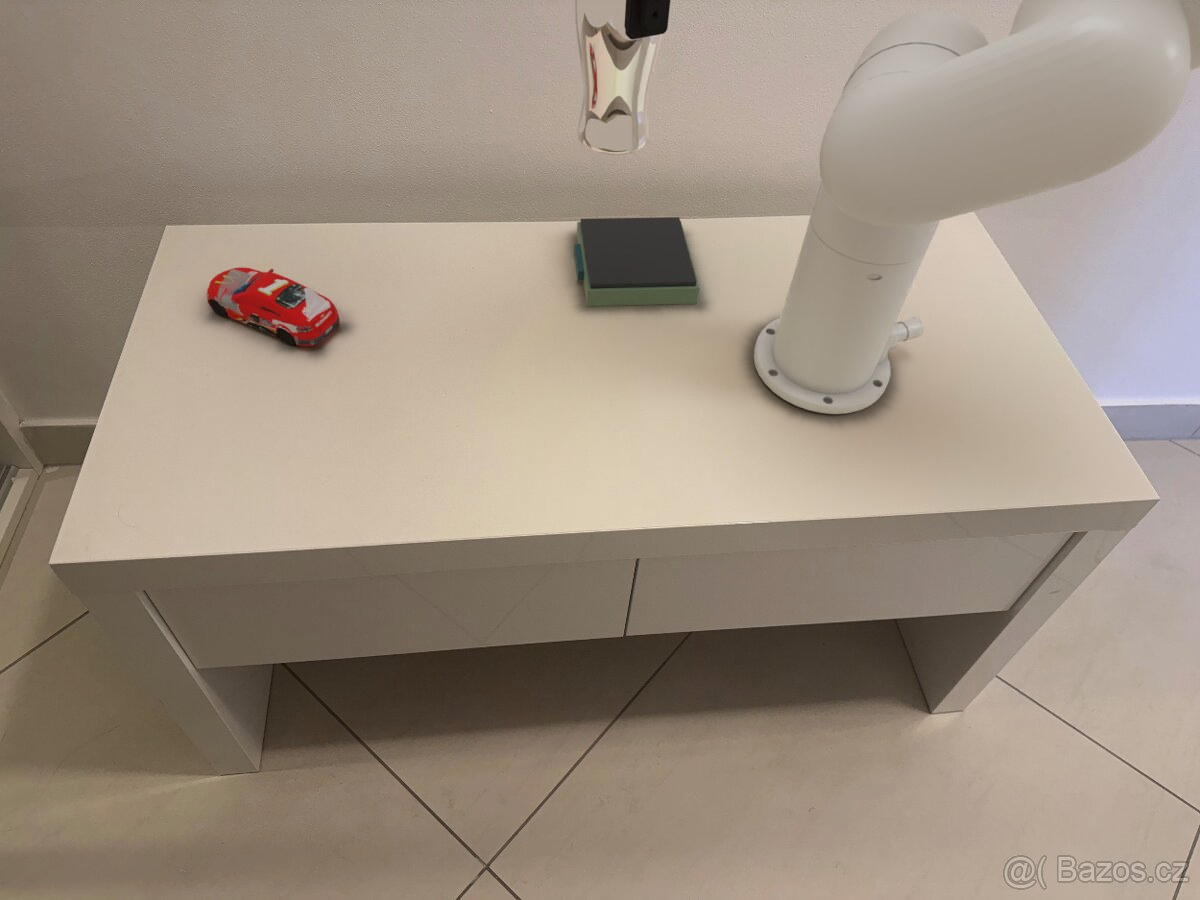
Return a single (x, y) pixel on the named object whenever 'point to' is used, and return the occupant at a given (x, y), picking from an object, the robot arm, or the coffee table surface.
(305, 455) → the coffee table surface
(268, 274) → the race car
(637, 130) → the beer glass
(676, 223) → the scale
